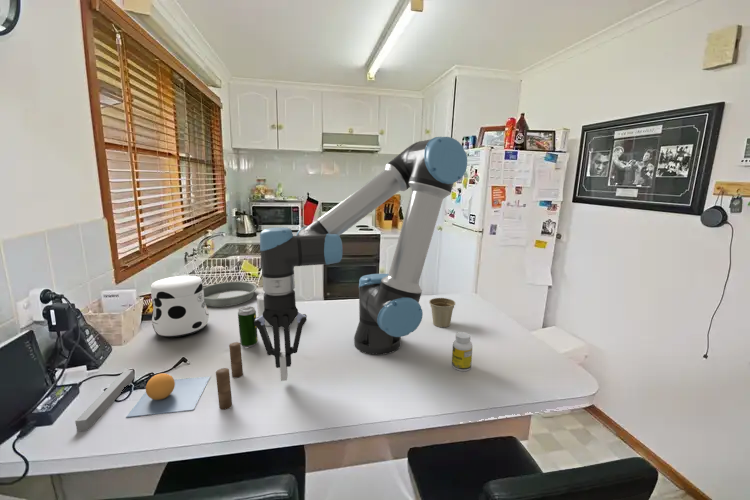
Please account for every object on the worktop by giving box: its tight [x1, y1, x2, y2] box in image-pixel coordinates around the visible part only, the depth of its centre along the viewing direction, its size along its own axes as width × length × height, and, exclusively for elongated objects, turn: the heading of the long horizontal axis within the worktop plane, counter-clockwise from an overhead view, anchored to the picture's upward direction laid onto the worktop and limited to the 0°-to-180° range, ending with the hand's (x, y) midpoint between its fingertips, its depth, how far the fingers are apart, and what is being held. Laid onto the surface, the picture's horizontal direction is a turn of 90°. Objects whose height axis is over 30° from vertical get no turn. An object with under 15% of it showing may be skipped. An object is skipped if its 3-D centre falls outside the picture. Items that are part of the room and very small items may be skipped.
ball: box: [145, 372, 175, 400], centre depth 84 cm, size 6×6×6 cm
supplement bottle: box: [451, 331, 473, 372], centre depth 97 cm, size 5×5×10 cm
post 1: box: [215, 367, 233, 411], centre depth 80 cm, size 3×3×9 cm
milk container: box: [150, 275, 210, 338], centre depth 120 cm, size 17×17×18 cm
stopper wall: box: [74, 369, 135, 432], centre depth 83 cm, size 2×20×2 cm, turn 10°
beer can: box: [237, 305, 259, 348], centre depth 111 cm, size 5×5×12 cm
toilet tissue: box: [256, 291, 272, 327], centre depth 130 cm, size 11×12×10 cm
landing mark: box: [125, 376, 211, 418], centre depth 85 cm, size 14×14×1 cm
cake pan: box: [203, 281, 257, 308], centre depth 155 cm, size 25×25×4 cm
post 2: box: [228, 341, 244, 379], centre depth 93 cm, size 3×3×9 cm
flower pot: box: [428, 297, 456, 328], centre depth 126 cm, size 9×9×9 cm
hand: (284, 377), depth 90 cm, fingers closed
